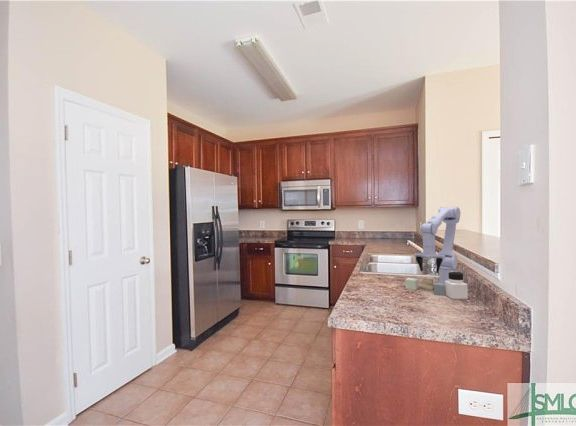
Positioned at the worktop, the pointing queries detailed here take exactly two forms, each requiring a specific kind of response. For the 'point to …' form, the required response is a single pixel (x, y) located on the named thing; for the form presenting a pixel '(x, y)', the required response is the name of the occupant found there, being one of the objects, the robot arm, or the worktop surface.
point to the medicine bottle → (456, 286)
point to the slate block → (439, 289)
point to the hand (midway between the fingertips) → (429, 271)
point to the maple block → (428, 283)
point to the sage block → (411, 283)
